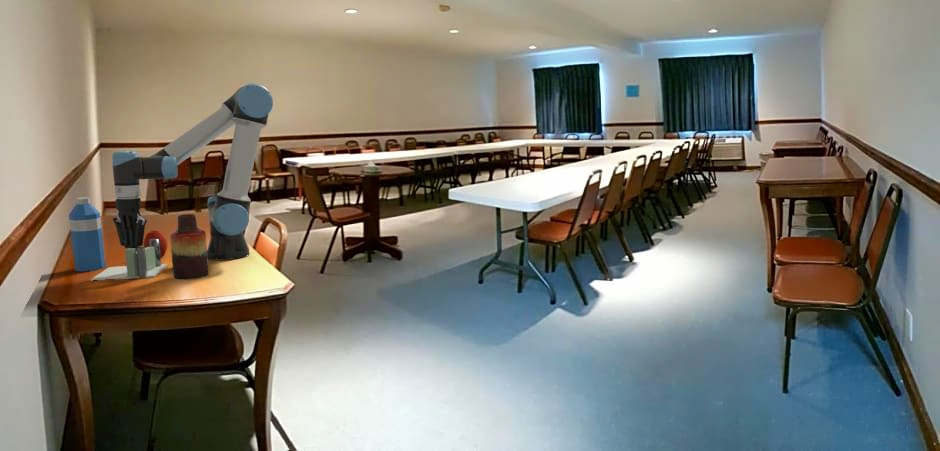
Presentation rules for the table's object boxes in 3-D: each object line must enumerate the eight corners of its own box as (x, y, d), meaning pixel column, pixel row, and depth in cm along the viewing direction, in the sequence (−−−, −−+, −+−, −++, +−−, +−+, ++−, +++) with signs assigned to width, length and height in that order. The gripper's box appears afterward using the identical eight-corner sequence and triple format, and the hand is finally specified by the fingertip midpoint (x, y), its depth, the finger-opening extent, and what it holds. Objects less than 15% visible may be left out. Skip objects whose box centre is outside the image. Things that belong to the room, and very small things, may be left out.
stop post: (147, 276, 217) (144, 246, 216) (145, 277, 216) (143, 247, 214) (141, 276, 217) (138, 247, 215) (139, 278, 215) (136, 248, 213)
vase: (215, 273, 221) (211, 213, 217) (192, 280, 211) (187, 218, 207) (190, 271, 224) (185, 212, 221) (166, 278, 214) (160, 217, 211)
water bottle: (91, 271, 225) (84, 199, 221) (68, 270, 227) (60, 199, 223) (111, 265, 234) (104, 196, 230) (89, 265, 236) (81, 196, 232)
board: (167, 265, 233) (167, 263, 233) (154, 277, 216) (153, 275, 216) (109, 268, 230) (109, 267, 230) (91, 280, 212) (91, 279, 212)
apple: (140, 257, 248) (137, 229, 247) (162, 253, 255) (159, 226, 253) (150, 260, 243) (147, 231, 241) (172, 256, 249) (169, 228, 248)
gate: (149, 266, 228) (147, 241, 226) (156, 266, 228) (154, 240, 226) (127, 276, 213) (124, 249, 212) (135, 276, 213) (132, 249, 212)
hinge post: (162, 266, 232) (159, 238, 231) (160, 268, 229) (157, 240, 228) (153, 266, 232) (150, 239, 230) (150, 268, 229) (148, 240, 227)
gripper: (103, 198, 217) (109, 267, 221) (133, 199, 213) (138, 270, 216) (123, 195, 224) (128, 263, 228) (151, 197, 220) (156, 266, 223)
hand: (133, 266), depth 222 cm, fingers closed
